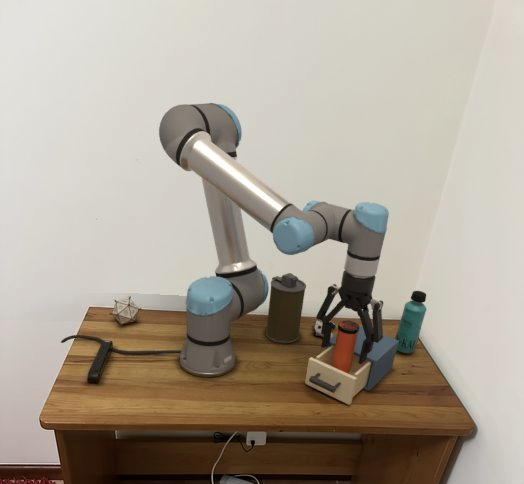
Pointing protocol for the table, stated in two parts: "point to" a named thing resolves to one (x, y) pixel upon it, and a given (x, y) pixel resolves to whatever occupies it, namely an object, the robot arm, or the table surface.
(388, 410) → the table surface
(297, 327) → the canister
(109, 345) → the black long bar
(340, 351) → the orange cylinder
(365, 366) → the drawer
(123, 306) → the game die
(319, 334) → the game controller
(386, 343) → the desk cabinet
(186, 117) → the robot arm
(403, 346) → the beverage bottle
